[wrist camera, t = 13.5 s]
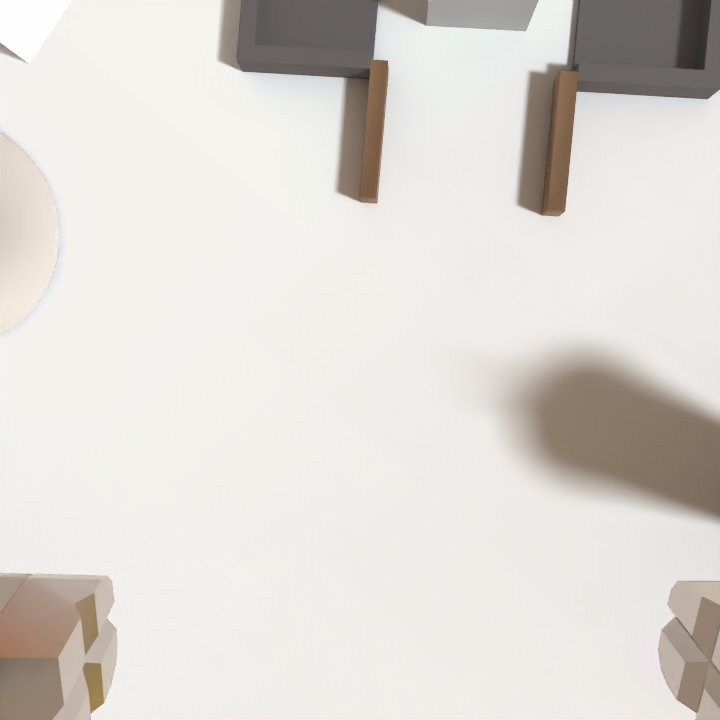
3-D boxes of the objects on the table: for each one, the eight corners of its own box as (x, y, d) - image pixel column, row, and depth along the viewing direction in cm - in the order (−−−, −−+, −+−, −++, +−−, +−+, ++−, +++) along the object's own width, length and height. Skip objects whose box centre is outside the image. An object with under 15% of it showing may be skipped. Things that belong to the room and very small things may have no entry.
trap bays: (243, 71, 39) (236, 60, 37) (254, -77, 38) (248, -94, 37) (707, 99, 37) (720, 88, 35) (723, -56, 36) (737, -73, 35)
